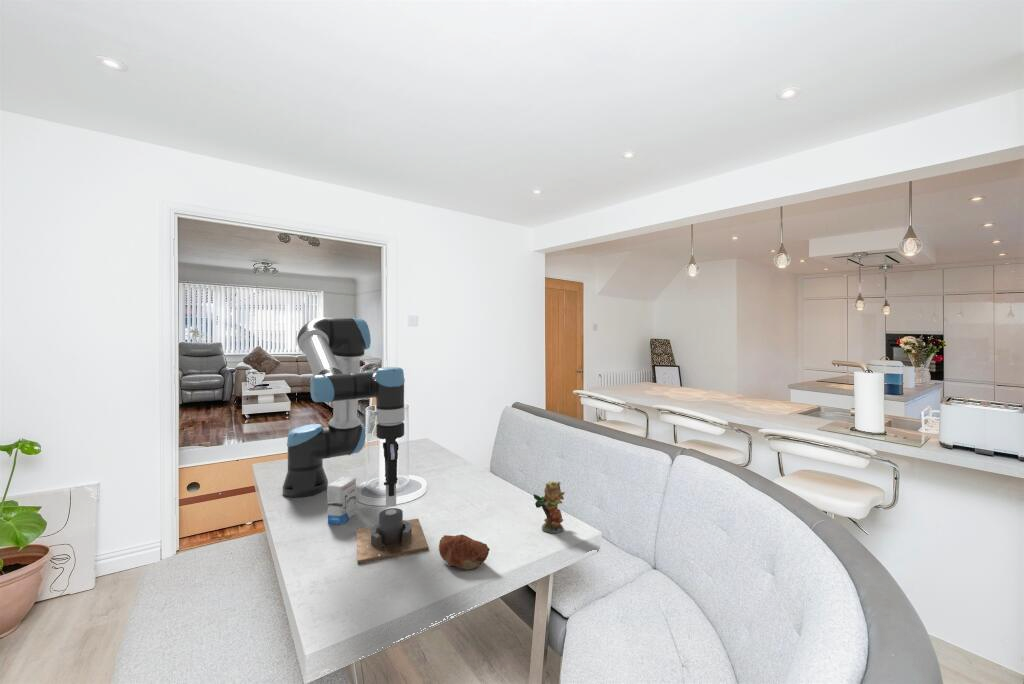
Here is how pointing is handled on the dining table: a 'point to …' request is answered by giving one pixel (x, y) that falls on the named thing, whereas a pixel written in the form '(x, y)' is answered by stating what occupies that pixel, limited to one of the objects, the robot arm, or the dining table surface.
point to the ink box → (341, 500)
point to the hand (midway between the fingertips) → (391, 505)
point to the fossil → (463, 551)
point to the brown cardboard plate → (376, 550)
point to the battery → (391, 525)
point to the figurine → (551, 507)
